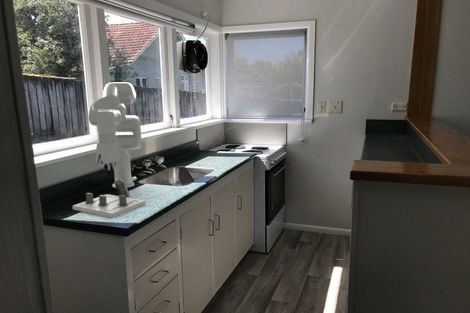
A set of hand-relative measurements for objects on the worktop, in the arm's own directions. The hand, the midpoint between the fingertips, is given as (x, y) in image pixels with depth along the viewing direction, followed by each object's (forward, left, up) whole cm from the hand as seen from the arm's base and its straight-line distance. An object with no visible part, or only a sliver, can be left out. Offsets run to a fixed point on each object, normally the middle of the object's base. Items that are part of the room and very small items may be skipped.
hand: (110, 177), depth 168 cm
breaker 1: (-3, -18, -15) cm, 23 cm away
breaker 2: (-3, -9, -15) cm, 18 cm away
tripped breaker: (-7, 0, -15) cm, 16 cm away
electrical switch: (-25, -18, -17) cm, 35 cm away
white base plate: (-7, -9, -17) cm, 21 cm away
